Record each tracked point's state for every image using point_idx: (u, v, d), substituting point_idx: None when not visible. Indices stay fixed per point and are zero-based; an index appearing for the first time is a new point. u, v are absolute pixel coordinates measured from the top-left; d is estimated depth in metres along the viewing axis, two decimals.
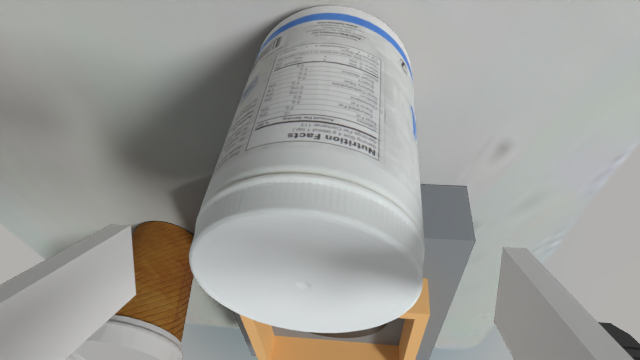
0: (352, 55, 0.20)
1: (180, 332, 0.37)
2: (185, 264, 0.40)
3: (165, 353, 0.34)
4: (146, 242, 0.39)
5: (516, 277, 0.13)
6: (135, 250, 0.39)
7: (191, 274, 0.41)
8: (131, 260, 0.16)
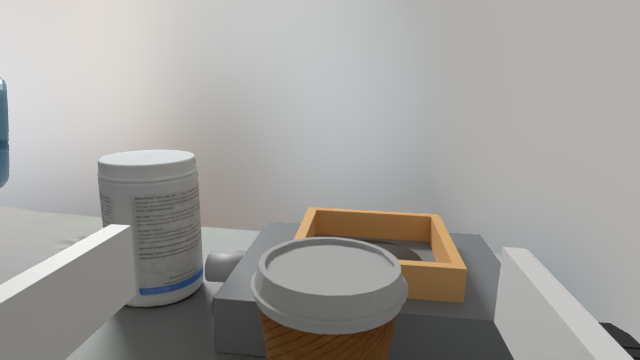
0: None
1: None
2: None
3: None
4: None
5: (516, 277, 0.13)
6: None
7: None
8: (131, 260, 0.16)
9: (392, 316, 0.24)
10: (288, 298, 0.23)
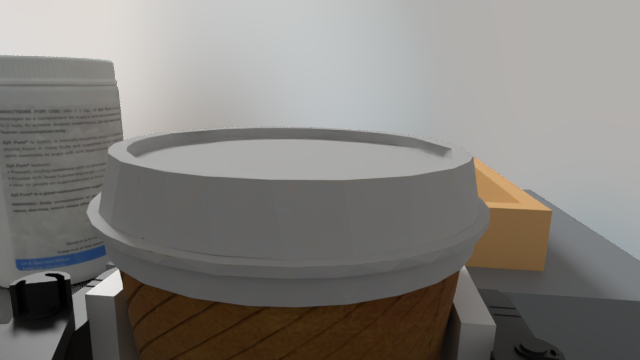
0: None
1: None
2: None
3: None
4: None
5: None
6: None
7: None
8: None
9: (460, 261, 0.09)
10: (152, 199, 0.07)
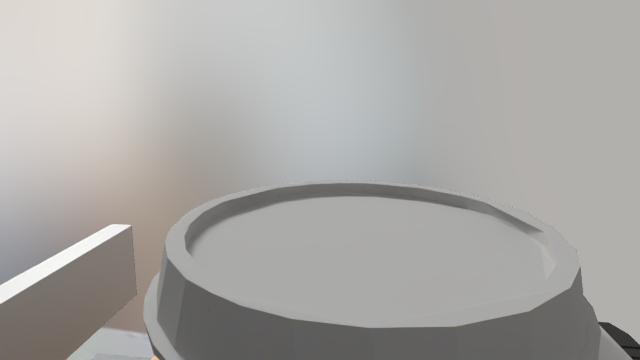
0: None
1: None
2: None
3: None
4: None
5: None
6: None
7: None
8: (132, 260, 0.16)
9: None
10: (225, 334, 0.06)
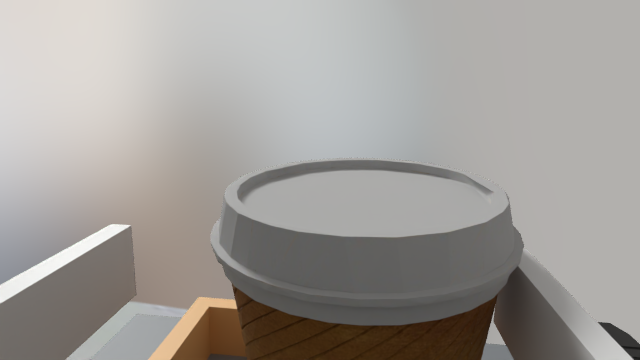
0: None
1: None
2: None
3: None
4: None
5: (516, 277, 0.13)
6: None
7: None
8: (131, 260, 0.16)
9: (492, 292, 0.11)
10: (261, 243, 0.11)
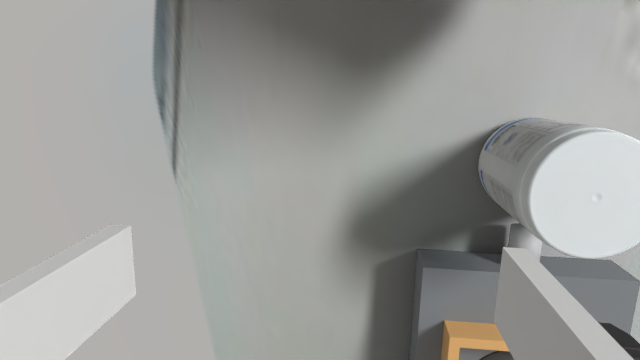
0: None
1: None
2: None
3: None
4: None
5: (516, 277, 0.13)
6: None
7: None
8: (131, 260, 0.16)
9: None
10: None
